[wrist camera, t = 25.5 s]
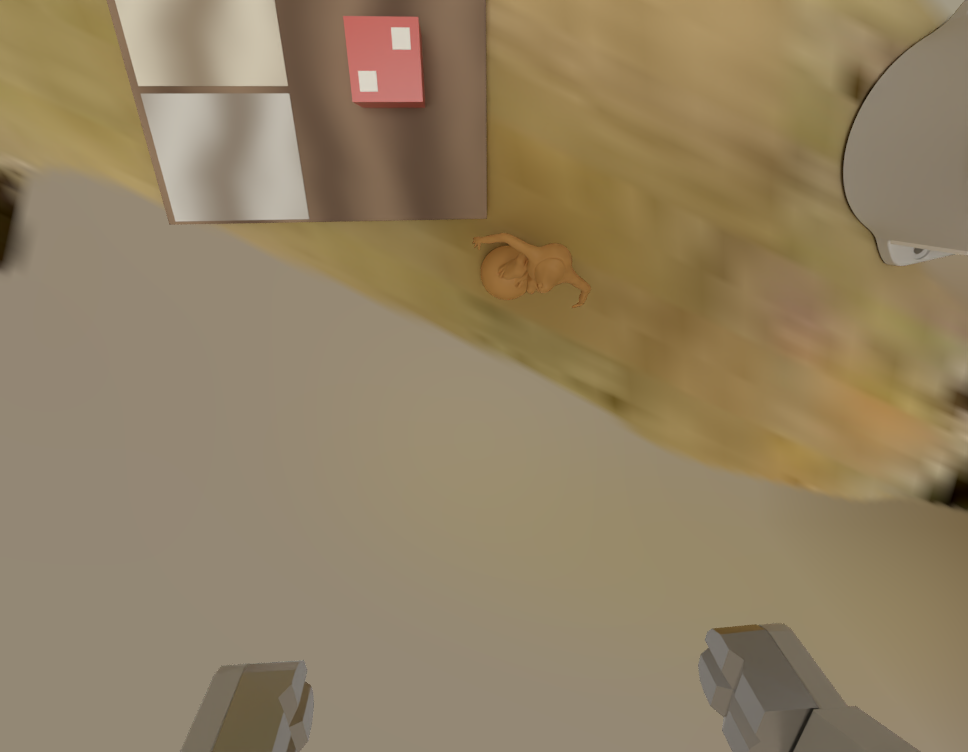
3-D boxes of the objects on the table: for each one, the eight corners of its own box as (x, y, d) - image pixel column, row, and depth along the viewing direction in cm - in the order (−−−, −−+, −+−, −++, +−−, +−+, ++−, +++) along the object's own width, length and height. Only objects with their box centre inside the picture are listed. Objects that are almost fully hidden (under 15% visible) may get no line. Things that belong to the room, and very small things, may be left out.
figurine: (445, 261, 37) (446, 307, 26) (486, 191, 35) (505, 208, 24) (533, 313, 39) (567, 375, 28) (575, 249, 37) (630, 289, 26)
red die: (421, 33, 29) (418, 16, 26) (425, 107, 31) (422, 101, 27) (355, 32, 29) (342, 15, 25) (363, 107, 31) (352, 101, 27)
